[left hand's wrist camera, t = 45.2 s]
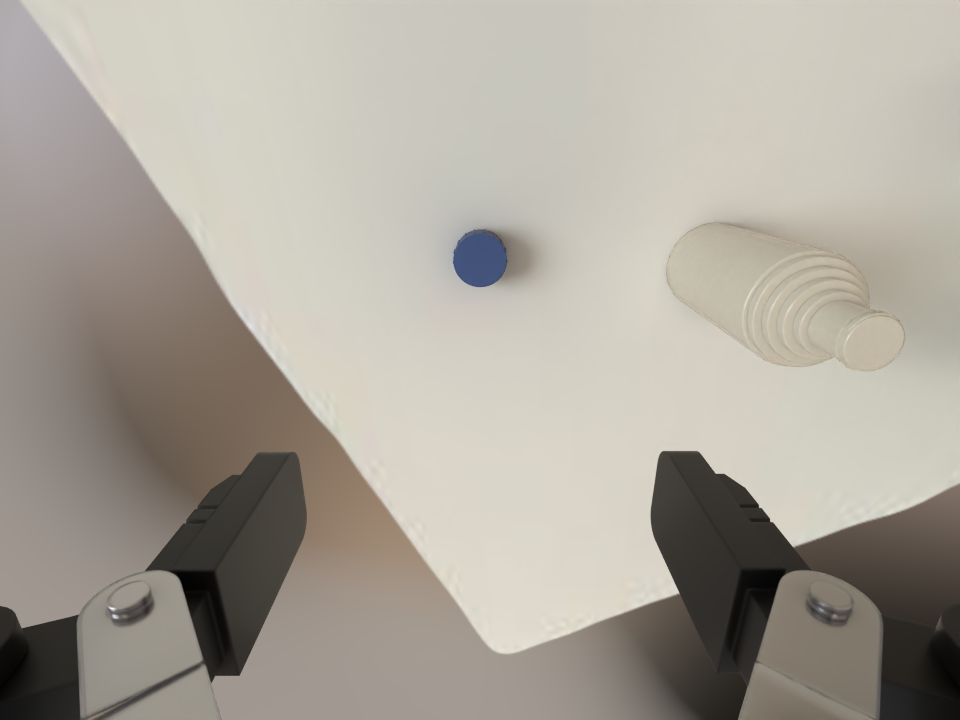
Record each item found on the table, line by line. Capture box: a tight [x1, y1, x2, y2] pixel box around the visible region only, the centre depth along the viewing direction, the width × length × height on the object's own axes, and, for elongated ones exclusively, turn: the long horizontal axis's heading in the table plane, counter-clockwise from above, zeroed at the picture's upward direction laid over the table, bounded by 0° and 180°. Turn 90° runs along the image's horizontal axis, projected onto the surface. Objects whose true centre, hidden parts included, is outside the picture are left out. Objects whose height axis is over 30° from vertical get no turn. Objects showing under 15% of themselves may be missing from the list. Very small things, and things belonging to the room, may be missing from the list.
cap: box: [453, 230, 507, 287], centre depth 38 cm, size 4×4×2 cm
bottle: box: [667, 223, 905, 371], centre depth 31 cm, size 6×6×18 cm
